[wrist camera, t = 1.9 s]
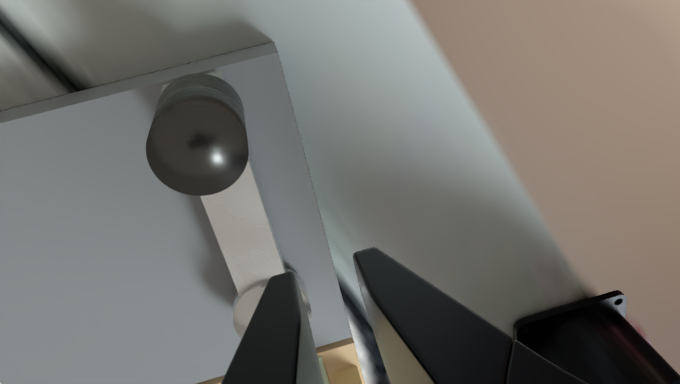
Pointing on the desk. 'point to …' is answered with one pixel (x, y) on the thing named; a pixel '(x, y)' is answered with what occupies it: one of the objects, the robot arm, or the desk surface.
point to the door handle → (218, 180)
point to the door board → (145, 238)
